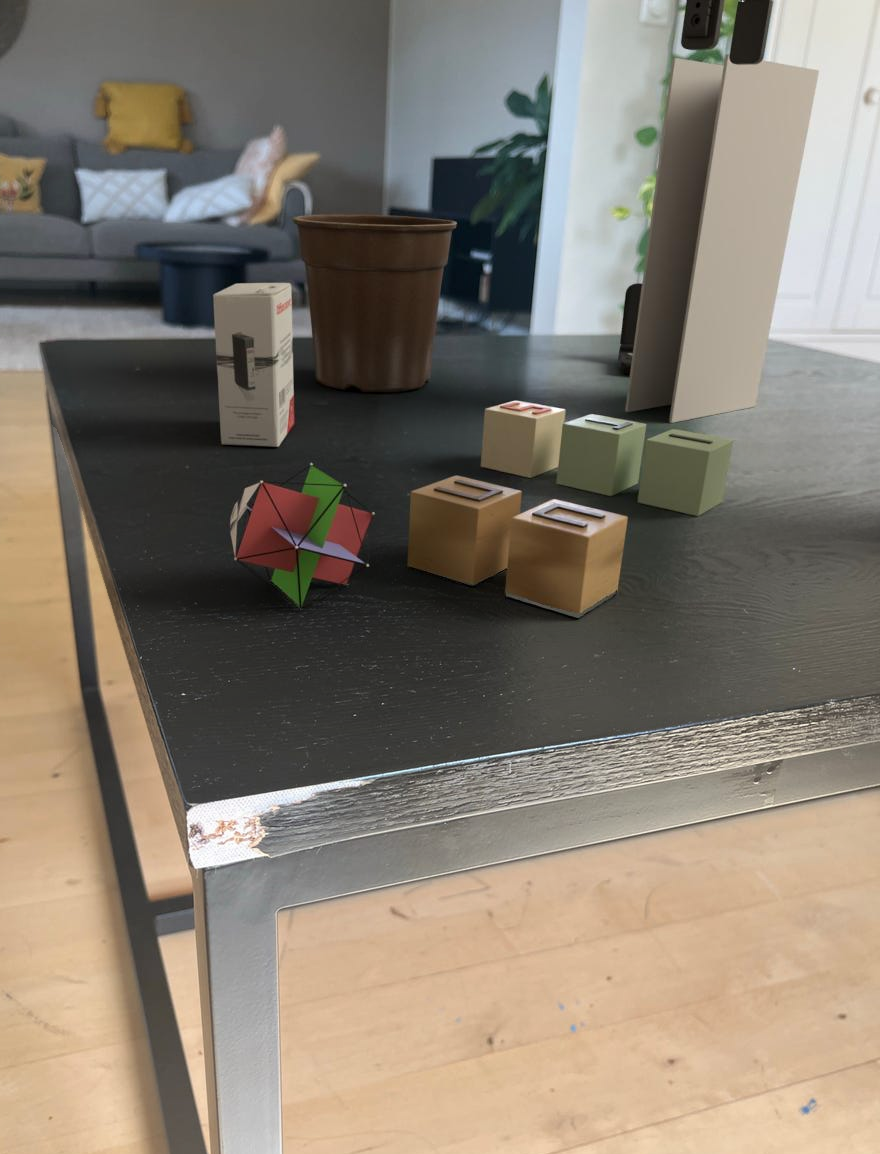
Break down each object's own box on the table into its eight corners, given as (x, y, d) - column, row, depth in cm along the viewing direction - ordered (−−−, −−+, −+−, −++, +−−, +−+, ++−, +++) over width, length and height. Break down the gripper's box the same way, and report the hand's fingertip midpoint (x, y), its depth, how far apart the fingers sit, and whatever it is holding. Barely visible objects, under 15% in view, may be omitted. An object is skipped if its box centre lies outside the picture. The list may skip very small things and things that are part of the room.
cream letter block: (480, 466, 76) (484, 407, 74) (510, 456, 80) (515, 398, 78) (530, 478, 74) (536, 416, 72) (559, 466, 77) (566, 407, 75)
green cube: (555, 483, 73) (562, 421, 71) (584, 471, 76) (591, 412, 74) (611, 496, 70) (619, 432, 68) (638, 483, 74) (647, 422, 72)
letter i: (637, 502, 69) (646, 437, 67) (663, 489, 73) (673, 426, 71) (698, 516, 67) (709, 449, 65) (722, 502, 70) (734, 438, 68)
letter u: (503, 597, 53) (511, 514, 51) (545, 574, 56) (553, 496, 54) (578, 620, 50) (589, 534, 49) (617, 594, 54) (629, 513, 52)
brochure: (709, 396, 105) (764, 73, 92) (755, 406, 101) (819, 70, 88) (625, 411, 97) (672, 58, 84) (671, 422, 93) (728, 54, 80)
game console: (618, 375, 114) (629, 293, 110) (616, 357, 126) (626, 282, 122) (757, 385, 112) (773, 301, 108) (741, 365, 124) (755, 289, 120)
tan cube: (406, 567, 56) (410, 489, 54) (451, 547, 60) (456, 472, 58) (472, 587, 54) (478, 506, 52) (515, 565, 57) (522, 488, 55)
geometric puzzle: (367, 522, 57) (287, 417, 52) (426, 561, 51) (343, 448, 46) (275, 607, 56) (185, 509, 51) (325, 656, 50) (230, 552, 46)
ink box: (239, 421, 87) (235, 279, 82) (295, 424, 87) (294, 282, 82) (217, 445, 79) (211, 290, 74) (279, 448, 79) (276, 293, 74)
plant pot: (349, 404, 95) (352, 222, 88) (266, 375, 106) (263, 212, 99) (478, 389, 104) (490, 223, 97) (389, 364, 115) (394, 214, 108)
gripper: (798, -320, 51) (740, 42, 58) (868, -232, 62) (812, 67, 69) (663, -289, 55) (624, 46, 62) (750, -211, 66) (708, 69, 73)
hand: (723, 57), depth 65 cm, fingers open, 8 cm apart
